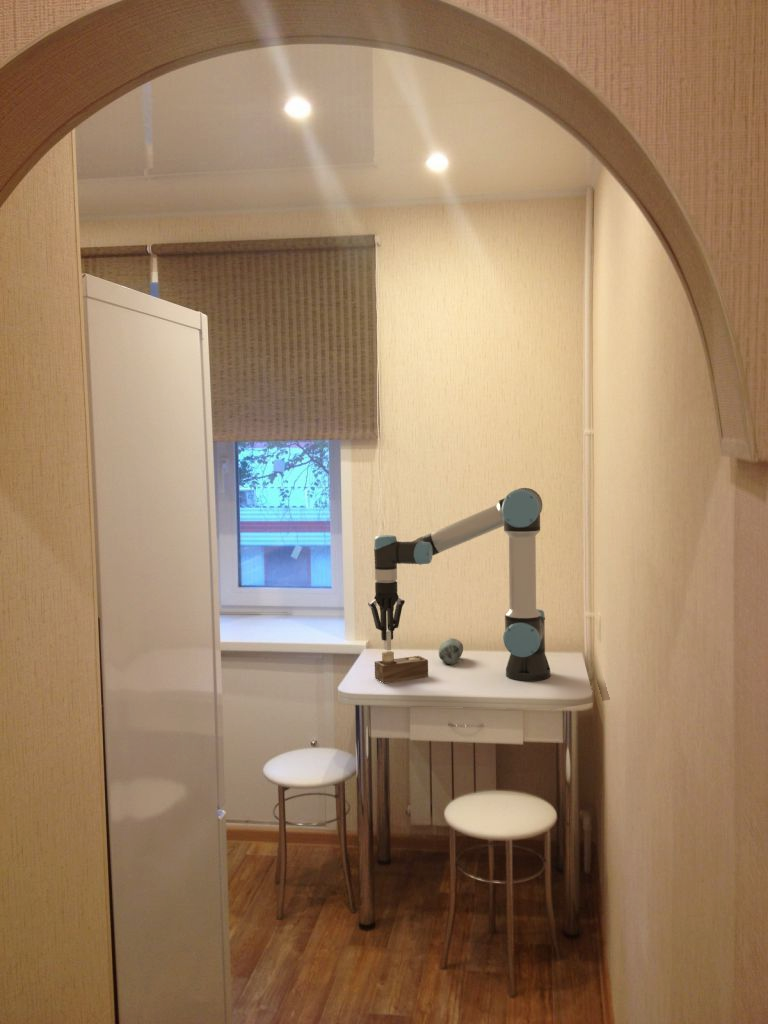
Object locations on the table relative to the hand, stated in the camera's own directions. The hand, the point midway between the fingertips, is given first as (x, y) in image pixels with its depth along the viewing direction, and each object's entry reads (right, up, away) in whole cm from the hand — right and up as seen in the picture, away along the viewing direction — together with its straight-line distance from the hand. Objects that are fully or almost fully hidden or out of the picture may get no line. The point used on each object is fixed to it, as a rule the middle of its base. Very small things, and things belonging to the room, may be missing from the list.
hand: (387, 649), depth 306 cm
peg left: (0, -7, 0) cm, 7 cm away
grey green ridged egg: (+23, -9, +24) cm, 35 cm away
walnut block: (+5, -10, +3) cm, 12 cm away
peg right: (+9, -10, +5) cm, 15 cm away
